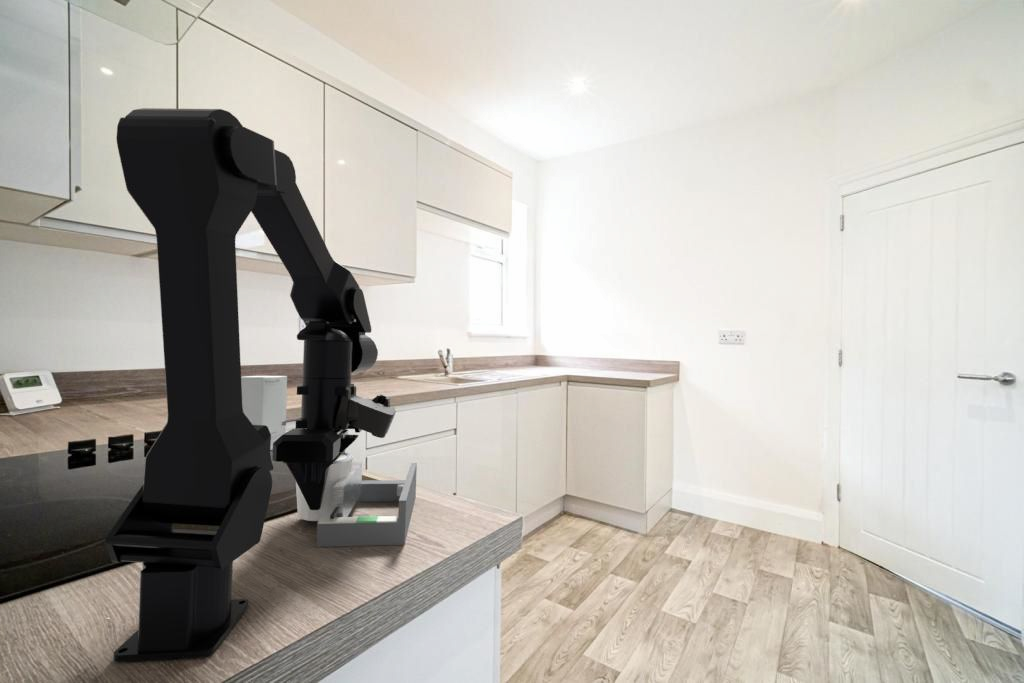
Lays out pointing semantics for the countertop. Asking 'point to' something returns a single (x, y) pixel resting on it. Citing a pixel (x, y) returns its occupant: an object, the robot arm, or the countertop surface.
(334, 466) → the white tapered cup
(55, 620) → the countertop surface
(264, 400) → the skincare box
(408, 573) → the countertop surface
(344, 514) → the flat metal bar
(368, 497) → the frame
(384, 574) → the countertop surface
